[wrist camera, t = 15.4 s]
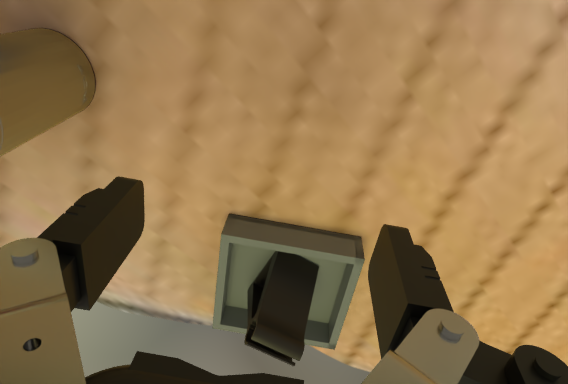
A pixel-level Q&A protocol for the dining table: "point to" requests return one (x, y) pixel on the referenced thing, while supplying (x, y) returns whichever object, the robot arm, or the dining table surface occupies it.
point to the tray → (297, 240)
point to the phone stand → (281, 306)
